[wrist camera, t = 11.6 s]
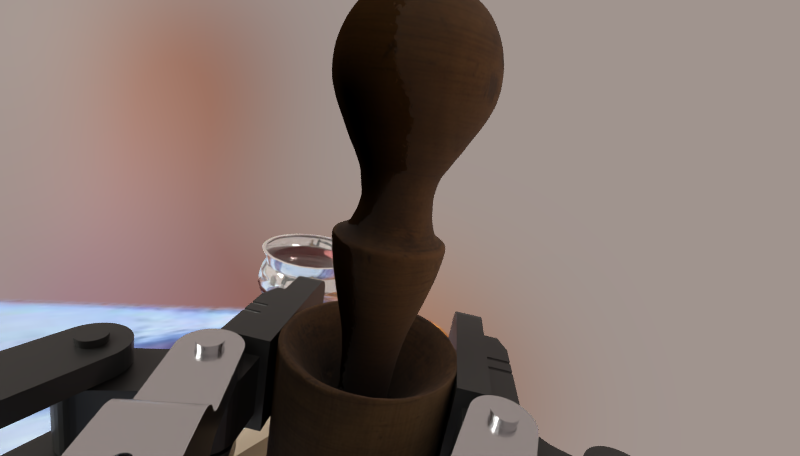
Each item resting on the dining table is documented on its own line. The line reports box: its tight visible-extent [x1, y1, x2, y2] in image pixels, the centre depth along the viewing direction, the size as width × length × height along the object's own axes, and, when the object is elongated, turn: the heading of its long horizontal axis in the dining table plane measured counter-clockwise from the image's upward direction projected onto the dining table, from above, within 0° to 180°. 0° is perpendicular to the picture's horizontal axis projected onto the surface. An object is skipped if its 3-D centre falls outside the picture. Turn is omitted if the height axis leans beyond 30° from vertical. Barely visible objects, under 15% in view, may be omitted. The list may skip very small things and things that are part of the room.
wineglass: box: [258, 234, 338, 303], centre depth 29 cm, size 7×7×12 cm
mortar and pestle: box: [266, 0, 504, 456], centre depth 9 cm, size 7×6×18 cm
